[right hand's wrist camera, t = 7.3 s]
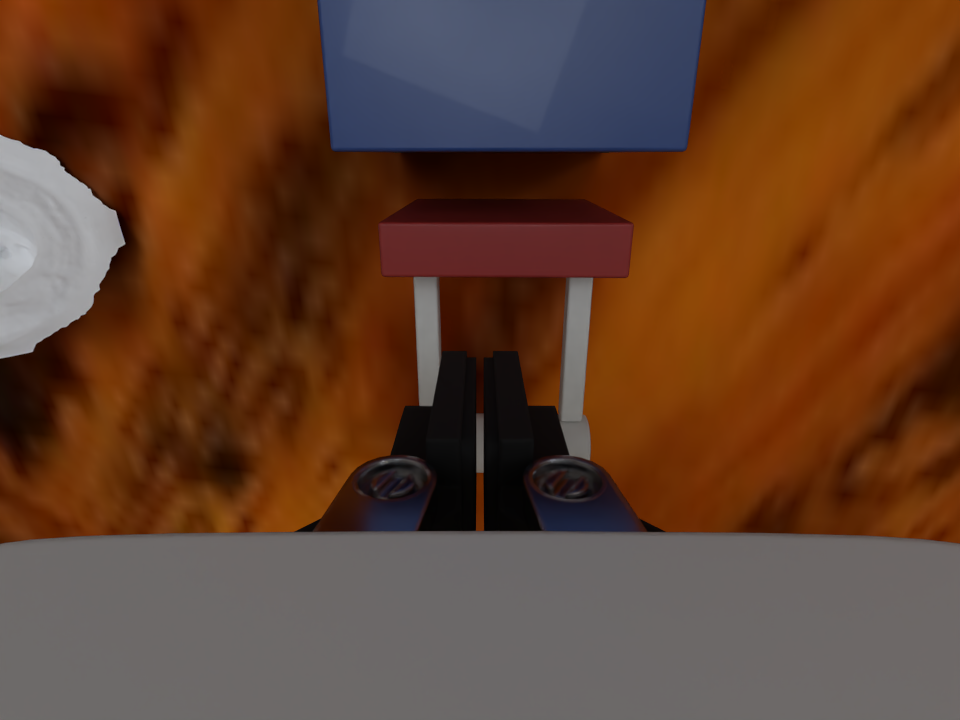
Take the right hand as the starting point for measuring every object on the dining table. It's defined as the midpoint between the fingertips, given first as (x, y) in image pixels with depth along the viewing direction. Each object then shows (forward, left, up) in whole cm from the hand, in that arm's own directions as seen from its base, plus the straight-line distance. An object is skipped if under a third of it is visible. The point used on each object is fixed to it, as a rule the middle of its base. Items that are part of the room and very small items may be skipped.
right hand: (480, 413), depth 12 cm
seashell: (+2, +16, -8) cm, 18 cm away
